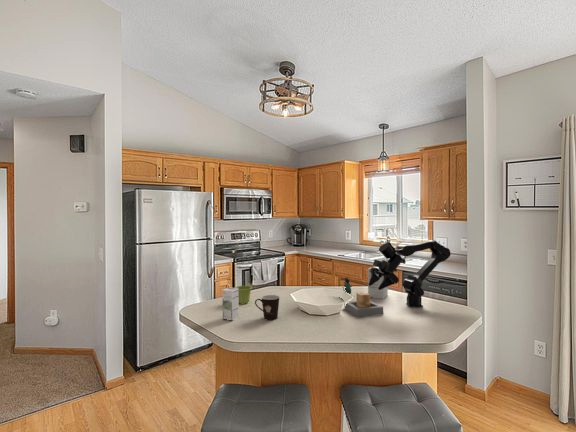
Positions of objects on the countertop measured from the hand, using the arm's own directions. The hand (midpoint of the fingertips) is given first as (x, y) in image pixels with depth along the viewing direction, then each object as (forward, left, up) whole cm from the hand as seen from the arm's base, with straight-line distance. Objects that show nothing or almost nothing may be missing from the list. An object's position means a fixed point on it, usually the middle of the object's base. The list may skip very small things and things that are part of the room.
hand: (373, 287), depth 165 cm
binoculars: (+8, -29, -12) cm, 32 cm away
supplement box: (-12, -26, -12) cm, 31 cm away
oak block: (+6, +1, -12) cm, 13 cm away
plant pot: (+67, -23, -12) cm, 72 cm away
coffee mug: (+54, +4, -12) cm, 55 cm away
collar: (+6, +1, -12) cm, 13 cm away
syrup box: (+72, +4, -12) cm, 73 cm away
